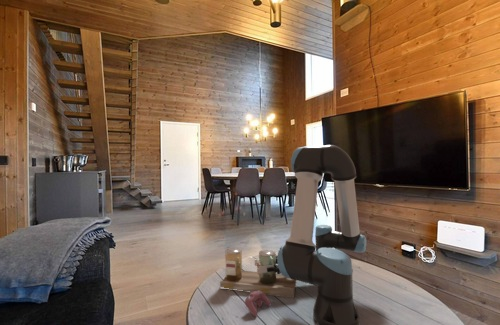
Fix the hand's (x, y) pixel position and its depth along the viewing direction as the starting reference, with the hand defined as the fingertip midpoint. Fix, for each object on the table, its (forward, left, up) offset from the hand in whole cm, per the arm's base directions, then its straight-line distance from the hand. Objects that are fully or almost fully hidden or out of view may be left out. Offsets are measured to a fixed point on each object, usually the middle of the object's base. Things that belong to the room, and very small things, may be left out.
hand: (256, 266), depth 112 cm
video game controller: (-16, +3, -10) cm, 19 cm away
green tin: (0, -5, -7) cm, 8 cm away
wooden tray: (+3, -2, -10) cm, 10 cm away
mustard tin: (+6, +10, -7) cm, 14 cm away
